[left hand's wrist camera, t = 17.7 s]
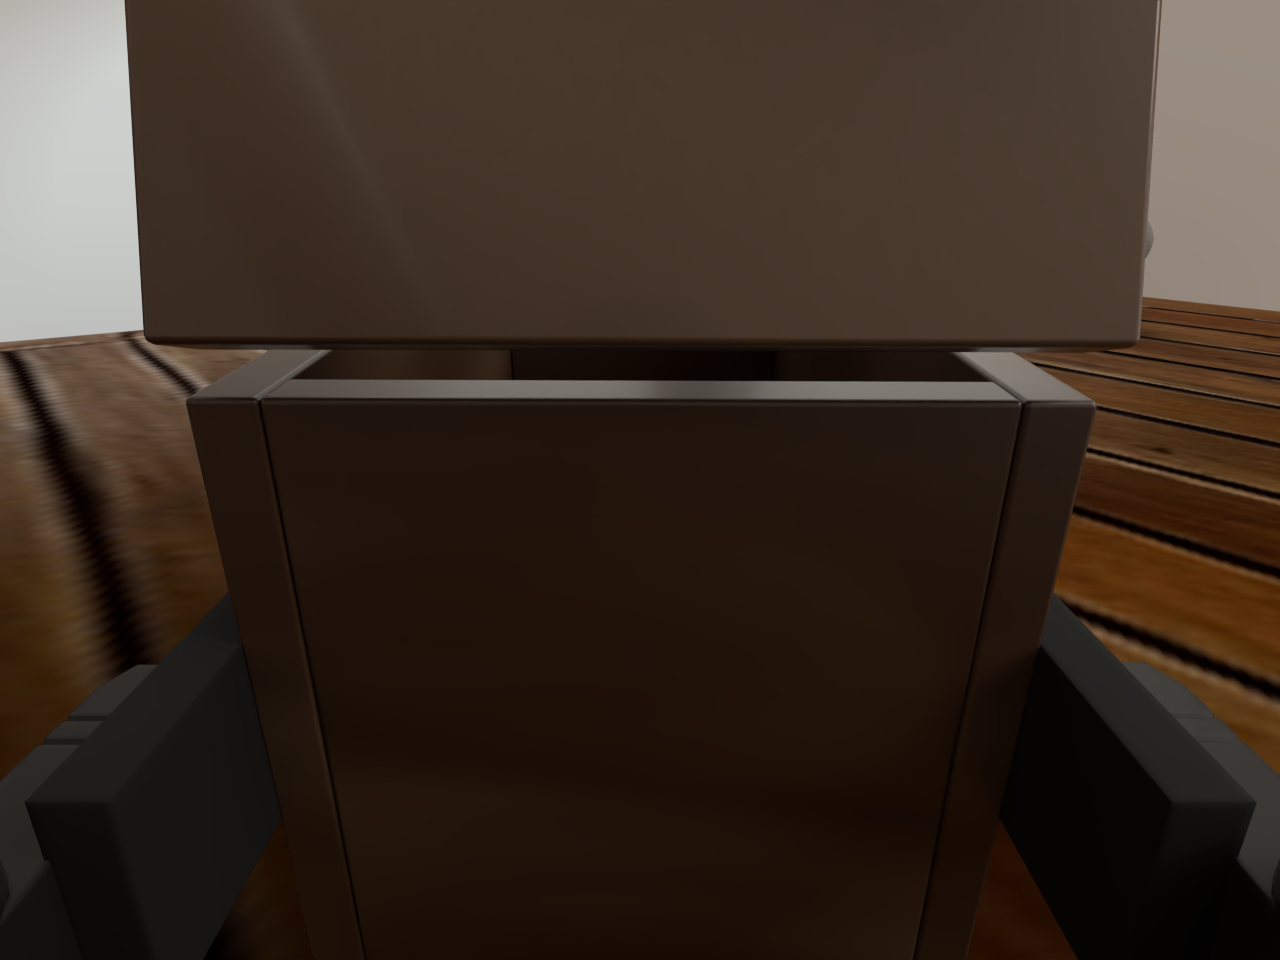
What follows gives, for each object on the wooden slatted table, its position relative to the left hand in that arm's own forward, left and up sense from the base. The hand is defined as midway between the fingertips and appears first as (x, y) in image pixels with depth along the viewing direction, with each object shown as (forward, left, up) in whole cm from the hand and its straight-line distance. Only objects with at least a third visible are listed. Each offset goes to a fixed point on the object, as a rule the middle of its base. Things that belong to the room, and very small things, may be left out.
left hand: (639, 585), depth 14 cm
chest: (-4, +3, -6) cm, 8 cm away
